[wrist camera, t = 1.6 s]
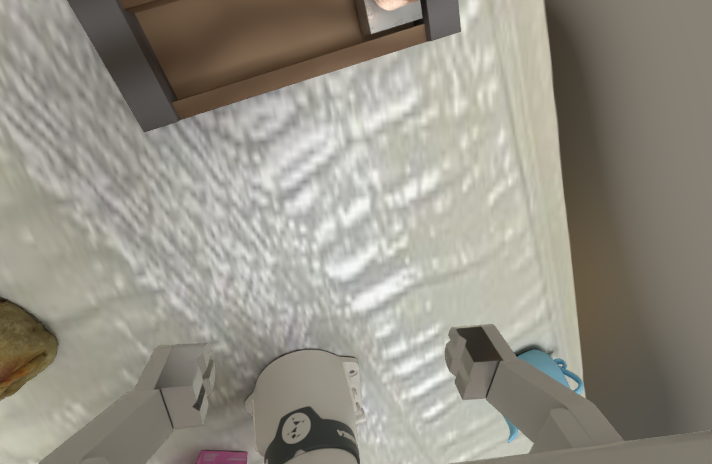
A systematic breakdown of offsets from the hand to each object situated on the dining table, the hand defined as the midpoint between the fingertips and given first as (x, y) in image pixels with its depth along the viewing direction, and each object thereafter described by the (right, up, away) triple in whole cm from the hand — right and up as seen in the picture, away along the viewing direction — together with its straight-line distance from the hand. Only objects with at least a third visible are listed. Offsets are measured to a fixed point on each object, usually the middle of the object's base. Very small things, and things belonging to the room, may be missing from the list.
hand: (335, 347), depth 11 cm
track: (-6, +24, +21) cm, 32 cm away
